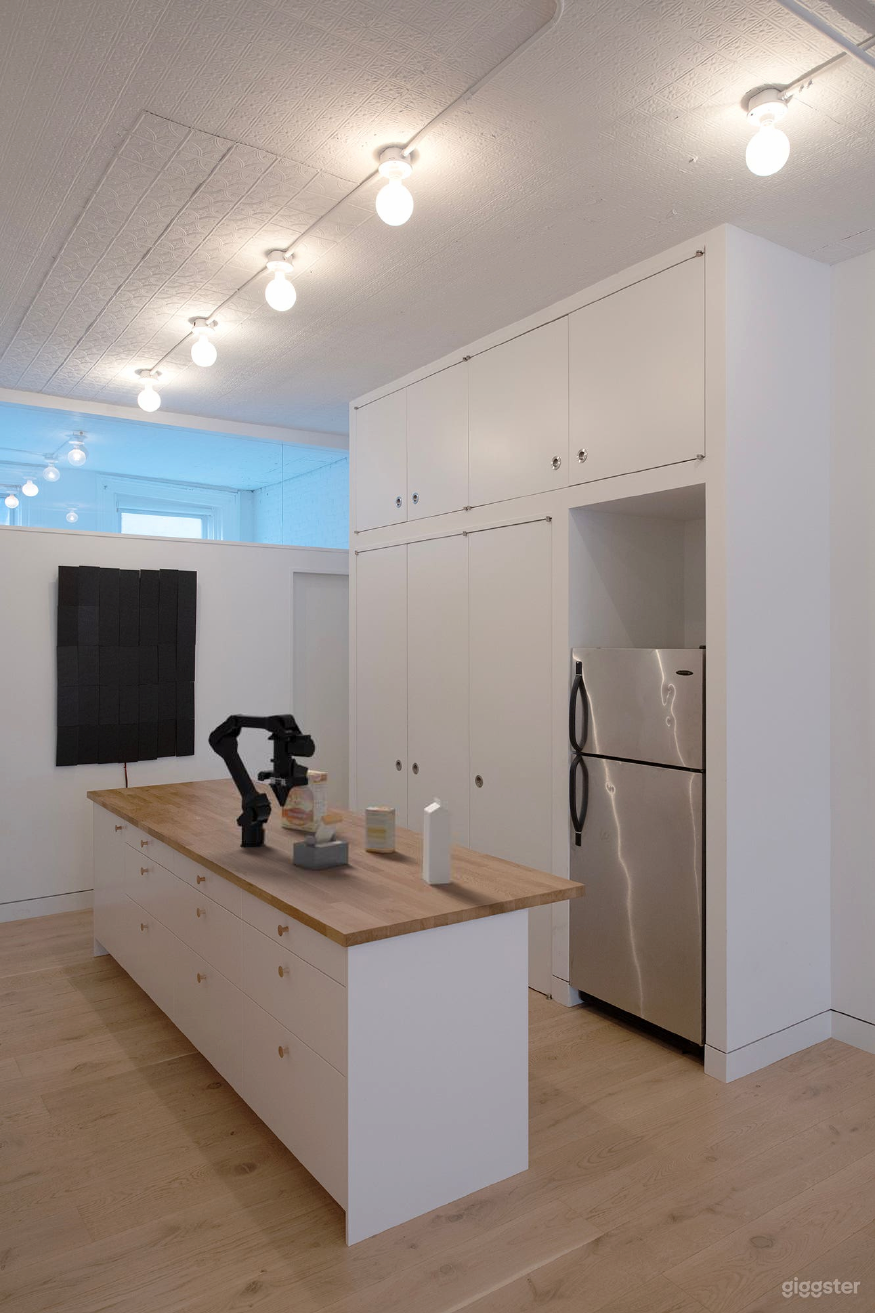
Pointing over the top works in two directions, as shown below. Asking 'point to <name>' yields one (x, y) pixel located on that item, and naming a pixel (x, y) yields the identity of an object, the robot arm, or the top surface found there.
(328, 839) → the lever
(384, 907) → the top surface
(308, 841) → the box
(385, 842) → the supplement box
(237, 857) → the top surface
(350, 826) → the top surface
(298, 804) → the coffeecake box
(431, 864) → the milk
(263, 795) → the robot arm
